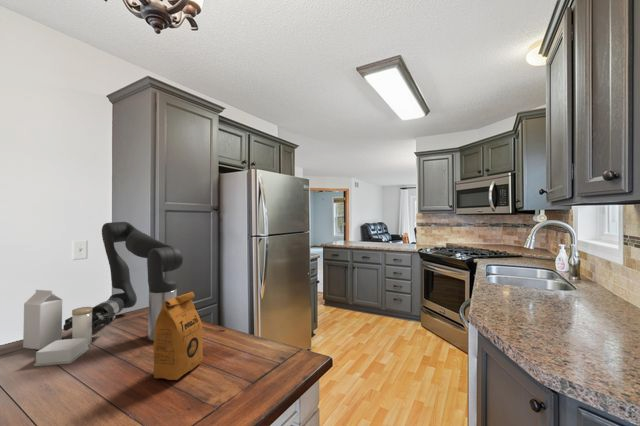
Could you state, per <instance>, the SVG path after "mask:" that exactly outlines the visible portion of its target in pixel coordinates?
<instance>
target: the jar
mask: <svg viewBox="0 0 640 426" xmlns="http://www.w3.org/2000/svg"><path fill="white" fill-rule="evenodd" d="M92 311H93V307H92V306H82V307H76V308H75V309H72V310H71V315H72V316H71V317H72V328H71V331H72V332H71V339H78V338H88V345H87V346H89V345H90V344H92V341H93V339H92V338H93V337H92V336H93V329H92Z"/></svg>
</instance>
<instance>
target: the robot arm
mask: <svg viewBox="0 0 640 426" xmlns="http://www.w3.org/2000/svg"><path fill="white" fill-rule="evenodd" d="M101 236H102V241H103V247H104V250H105V253H106V257H107V258H106V259H107V260H108V264H109V270H110V276H111V277H110V280H111V286H112V288H113V289H118V290H122V291H123V292H120V293H115V294H112V295H110V296H109V297H108V299H107V300H105V301H103V302H100V303H99V304H97V305H95V306H93V307H92V308H93V311H92V330H96V329H97V328H99V327H100V326H101V327H102V326H104V324H105V325H106V326H107V325H110V324H111V323H113V322H114V321H115V320H116V315H117V314H119V313H120V312H121V311H122V310H123V309H129V308H133V307H134V306H135V305H136V304H137V299H138V298H137V297H138V296H137V294H136V292H135V289H134V287H133V285H132V283H131V274H130V268H129V266H128V264H127V262H126V261H125V260H124V259H123V258H122V257H121V256H120V254H119V253H118V251H117V249H116V248H115V243H123V242H125V243H124V245H125V248H126V250H127V251H128V252H130V253H132V254H133V255H134V256H135V257H139V258H143V259H146V266H147V267H146V268H147V270H146V271H147V284H148V332H147V335H148V340H149V341H153V342H154V331H155V324H156V320H157V317H158V315H159V313H160V311H161V309H162V307H163V304H164V302H165V301H167V300H170V299H172V298H174V297H178V295H177V290H178V287H177V285H178V283H177V281H176V280H173V279H168V278H165V277H164V273H167V272H172V271H176V270H178V269H179V268H181V266H183V261H184V257H183V254H182V252H181V251H180V249H178V248H177V247H176V246H172V245H169V244H166V243H164V242H161V241H160V240H158V239H156V238H154V237H152V236H150V235H149V234H146V233H144V232H143V231H141V230H139V229H138V228H137V227H135V226H134V225H132V223H130V222H127V221H115V222H113V221H112V222H106V223H104V224H103V225H102V227H101ZM62 329H63V331H64V332H66V331H67V332H68V331H69V330H70V329H71V330H72V316H70V317H69V318H66V319H64V324H63V325H62Z"/></svg>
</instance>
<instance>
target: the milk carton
mask: <svg viewBox="0 0 640 426" xmlns="http://www.w3.org/2000/svg"><path fill="white" fill-rule="evenodd" d="M62 329H63V299H62V298H61V297H59V296H58V295H56V293H55V292H53V290H48V289H35V293H34V294H33V295H32V296H30V297H29V299H27V301H25V302H24V303H23V333H22V334H23V336H22V337H23V339H22V340H23V341H22V342H23V343H22V345H23V346H22V347H23V348H24V349H32V350H41V349H42V348H44V347H46V346H47V345H49V344H51V343H52V342H54V341H56V340H63V339H62V336H63V335H62V334H63V330H62Z"/></svg>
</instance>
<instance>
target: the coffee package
mask: <svg viewBox="0 0 640 426" xmlns="http://www.w3.org/2000/svg"><path fill="white" fill-rule="evenodd" d="M195 297H196V296H195V293H194V291H190V292H188V293H184V294H182V295H177V296H176V297H174V298H172V299H170V300H167V301H165V302H164V304H163V307H162V309H161V311H160V313H159V315H158V317H157V320H156V324H155V331H154V341H153V378H154V379H165V380H168V381H178V380H179V379H180V378H182V376H184V375H185V374H187V373H188V372H190V371H192V370H194V369H195V368H196V367H197V366H198V365H200V364H201V363H202V361H203V359H204V357H203V355H204V354H203V351H204V350H203V333H204V330H203V329H204V327H203V323H202V319H201V318H200V315H199V314H198V311H197V310H196V307H195V304H194V301H193V300H192V299H194V298H195Z"/></svg>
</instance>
